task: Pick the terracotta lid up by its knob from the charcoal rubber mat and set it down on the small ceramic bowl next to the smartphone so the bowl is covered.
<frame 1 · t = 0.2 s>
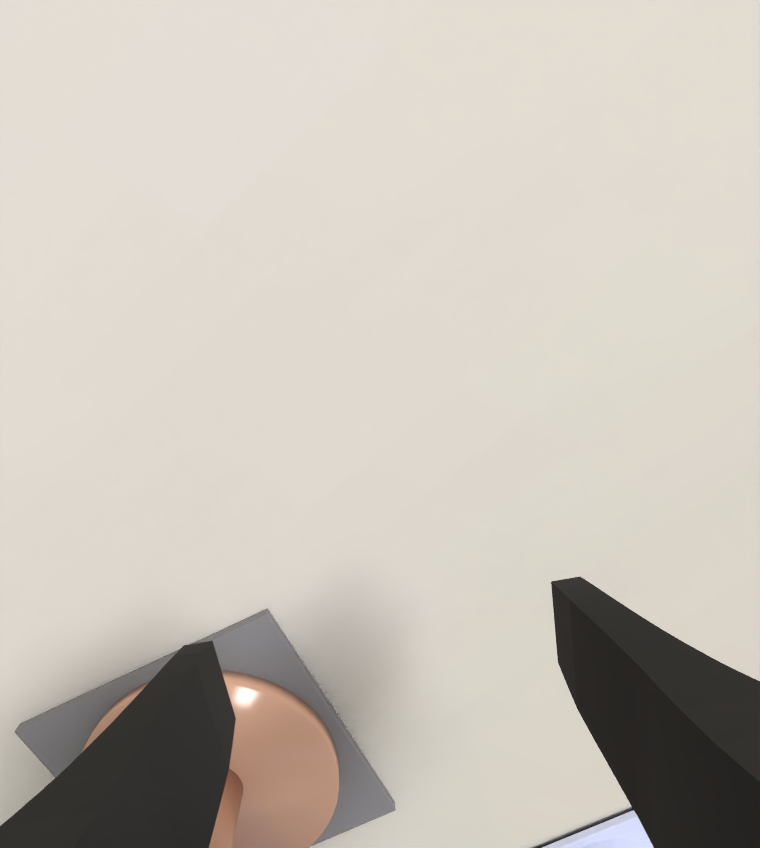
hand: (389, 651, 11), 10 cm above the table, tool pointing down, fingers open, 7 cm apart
lid: (200, 826, 22), on the mat
mat: (216, 765, 24), on the table
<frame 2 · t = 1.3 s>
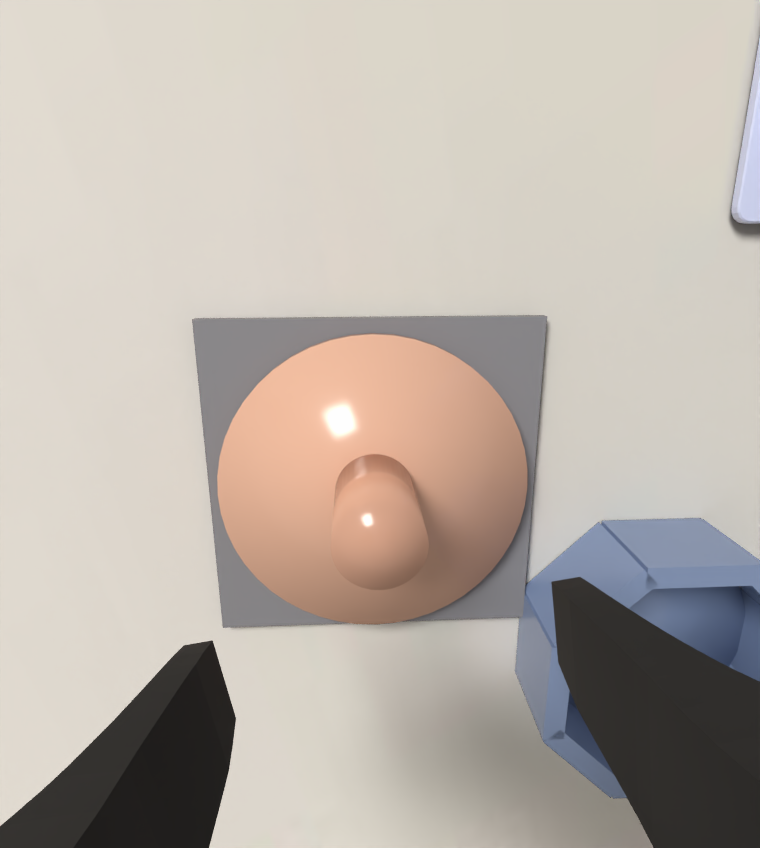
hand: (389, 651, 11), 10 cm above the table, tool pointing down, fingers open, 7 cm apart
bowl: (635, 627, 23), on the table
lid: (376, 510, 18), on the mat
mat: (373, 478, 21), on the table
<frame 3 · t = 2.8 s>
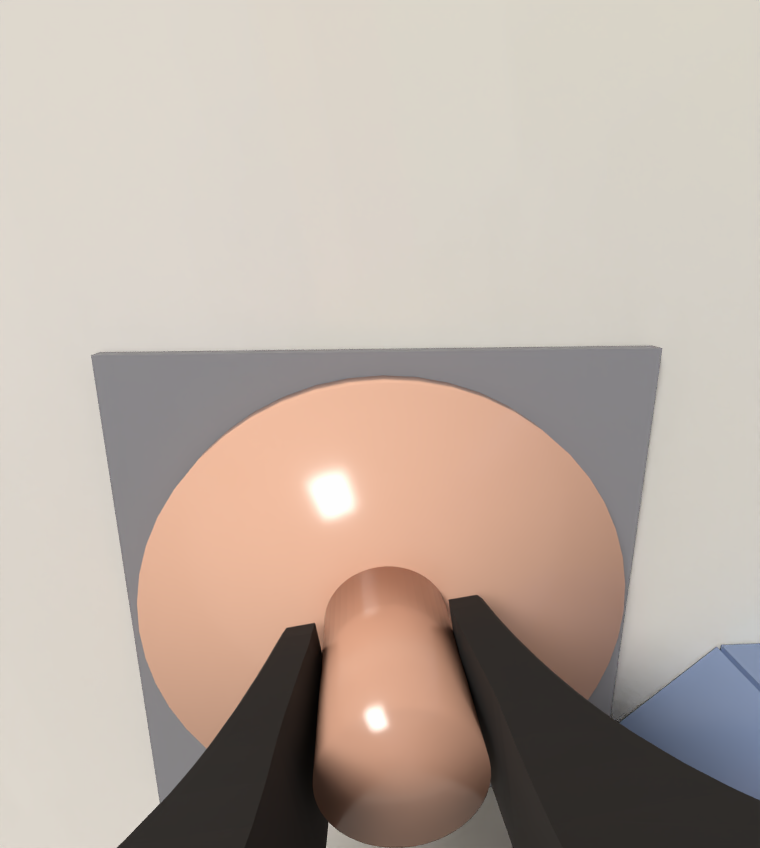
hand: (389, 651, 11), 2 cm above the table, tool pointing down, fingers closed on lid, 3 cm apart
bowl: (758, 786, 16), on the table
lid: (391, 671, 11), on the mat, touching gripper
mat: (383, 590, 14), on the table
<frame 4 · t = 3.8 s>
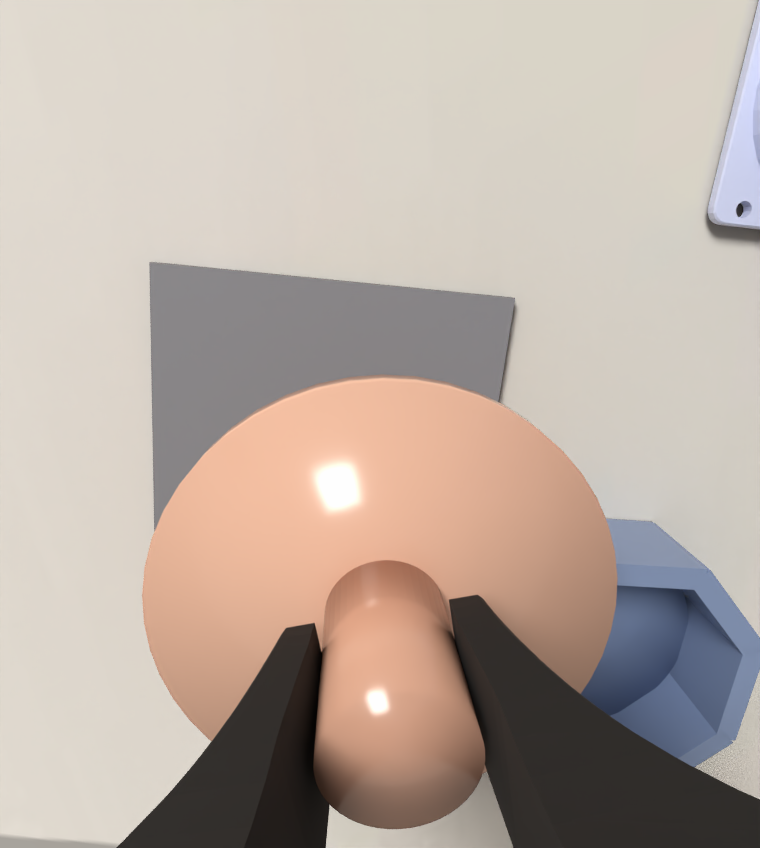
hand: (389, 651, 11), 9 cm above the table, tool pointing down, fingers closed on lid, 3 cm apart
bowl: (578, 627, 23), on the table
lid: (389, 661, 11), point 10 cm above the table, touching gripper
mat: (325, 449, 20), on the table
when the fingers open (6 cm above the table, at t = 5.2 s): lid stays where it is, resting on bowl.
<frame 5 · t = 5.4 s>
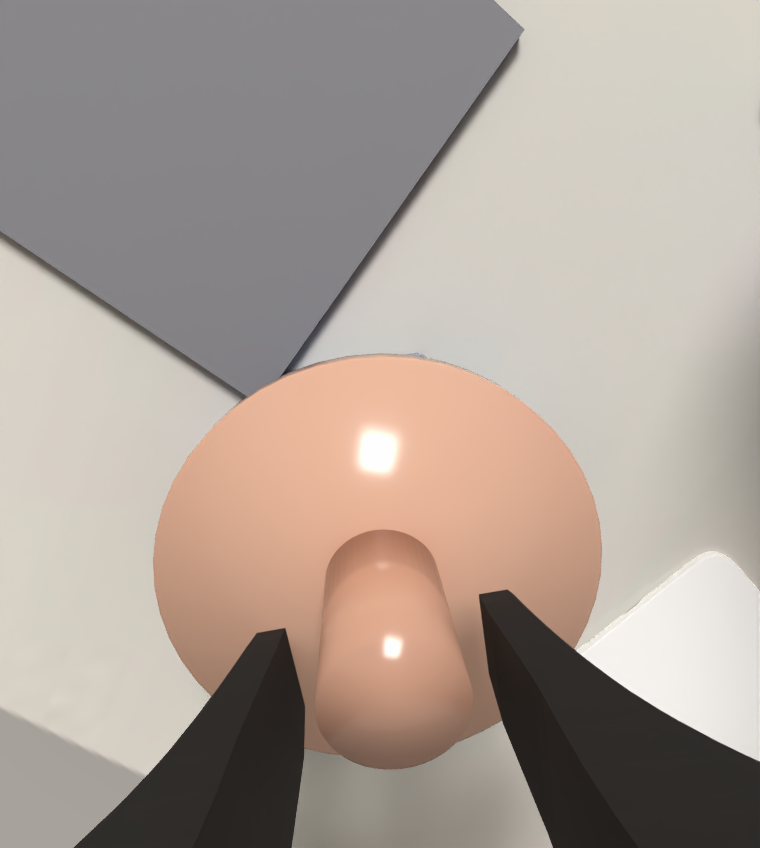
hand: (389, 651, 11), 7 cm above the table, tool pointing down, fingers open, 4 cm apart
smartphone: (735, 713, 21), on the table
lid: (386, 621, 12), on the bowl, point 6 cm above the table
mat: (193, 85, 14), on the table
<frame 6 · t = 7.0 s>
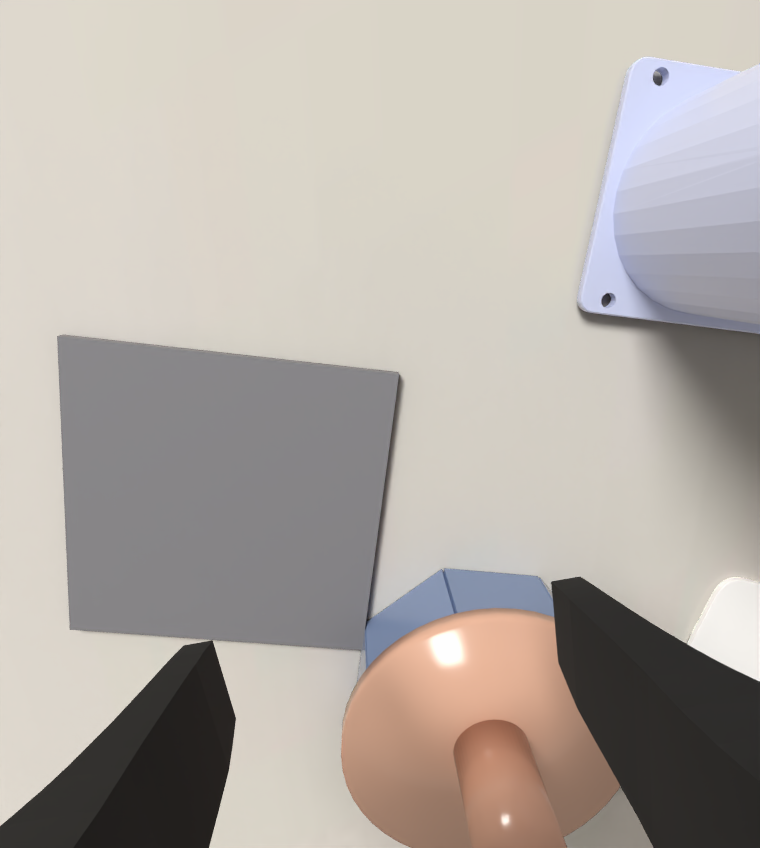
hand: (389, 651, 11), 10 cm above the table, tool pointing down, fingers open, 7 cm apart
bowl: (471, 671, 24), on the table
lid: (502, 790, 19), on the bowl, point 6 cm above the table
mat: (227, 504, 21), on the table
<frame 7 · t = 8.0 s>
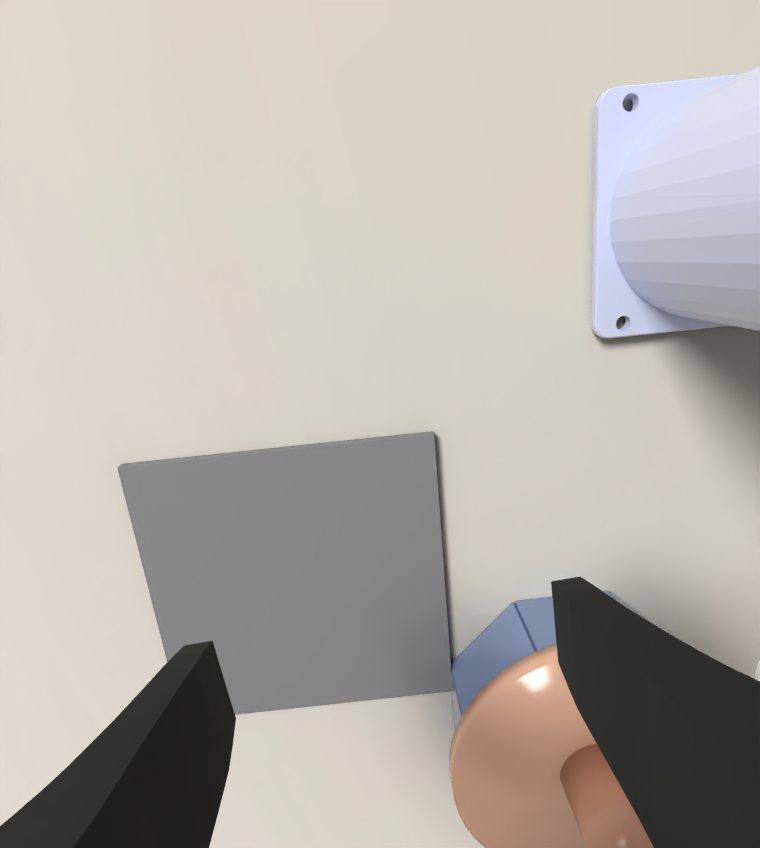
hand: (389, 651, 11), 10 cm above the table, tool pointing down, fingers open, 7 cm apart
bowl: (561, 690, 25), on the table
lid: (615, 813, 19), on the bowl, point 6 cm above the table
mat: (299, 582, 23), on the table
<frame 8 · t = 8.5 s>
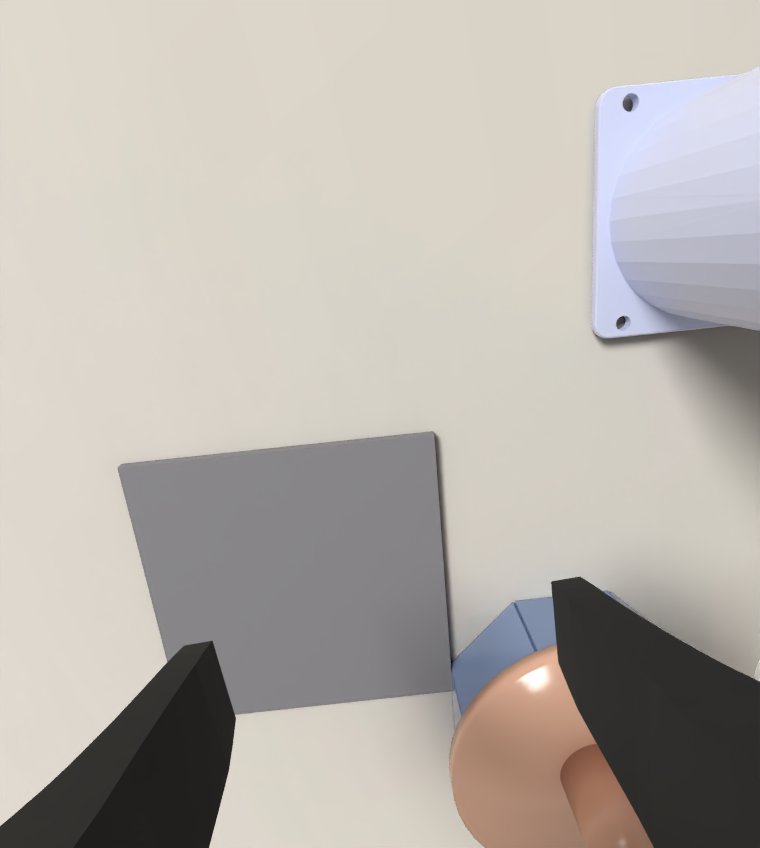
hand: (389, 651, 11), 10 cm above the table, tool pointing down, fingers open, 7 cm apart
bowl: (561, 690, 25), on the table
lid: (615, 813, 19), on the bowl, point 6 cm above the table
mat: (299, 582, 23), on the table
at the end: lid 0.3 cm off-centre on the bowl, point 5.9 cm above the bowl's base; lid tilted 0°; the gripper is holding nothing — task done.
